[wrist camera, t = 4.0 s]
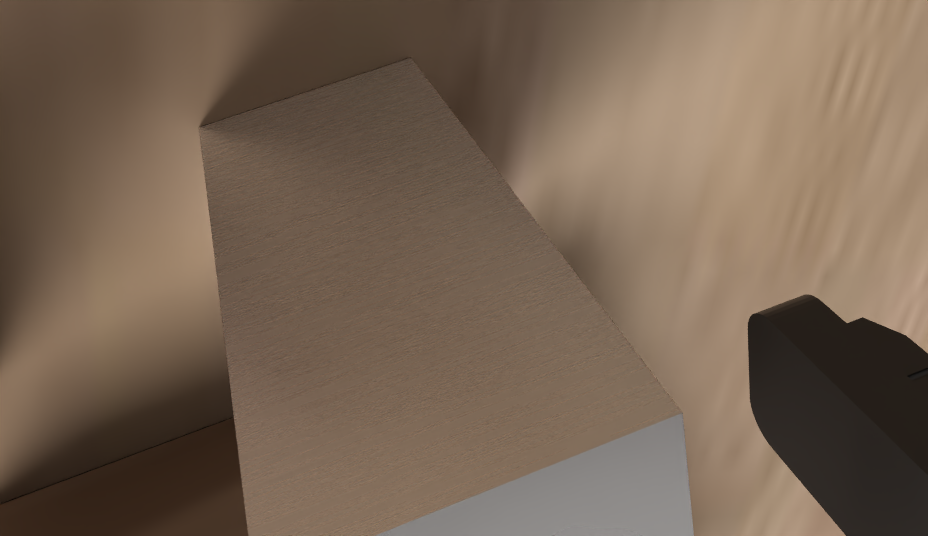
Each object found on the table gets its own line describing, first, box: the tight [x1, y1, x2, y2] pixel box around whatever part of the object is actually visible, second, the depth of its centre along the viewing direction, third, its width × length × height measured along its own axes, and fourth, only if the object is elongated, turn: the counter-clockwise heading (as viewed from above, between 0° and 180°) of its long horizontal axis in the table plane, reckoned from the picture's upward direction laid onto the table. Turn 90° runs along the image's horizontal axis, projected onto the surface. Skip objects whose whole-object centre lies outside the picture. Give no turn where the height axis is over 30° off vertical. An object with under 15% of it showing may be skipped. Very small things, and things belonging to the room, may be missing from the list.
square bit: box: [199, 58, 694, 536], centre depth 13 cm, size 4×4×10 cm
